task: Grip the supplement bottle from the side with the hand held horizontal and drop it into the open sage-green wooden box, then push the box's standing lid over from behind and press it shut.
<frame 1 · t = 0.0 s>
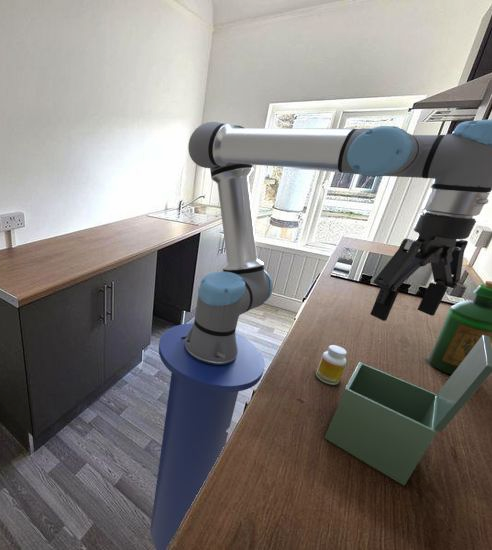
hand: (402, 315, 62), 26 cm above the worktop, tool pointing down, fingers open, 13 cm apart
box lid: (462, 381, 51), point 21 cm above the worktop, hinge at 95.0°
box: (368, 441, 63), on the worktop
bottle: (446, 368, 89), on the worktop
supplement bottle: (326, 379, 82), on the worktop
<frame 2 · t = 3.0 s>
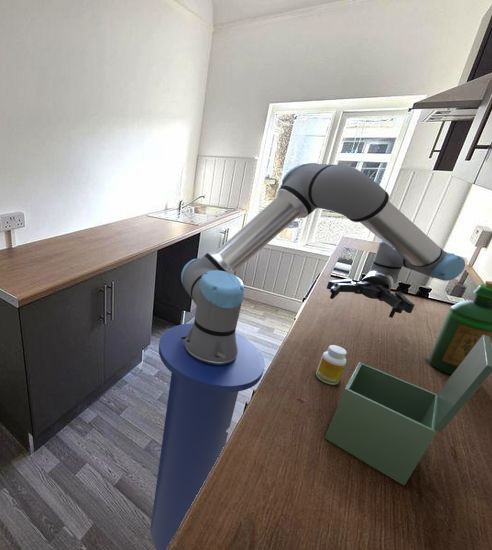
hand: (360, 303, 81), 20 cm above the worktop, tool horizontal, fingers open, 13 cm apart
nothing on the worktop moved.
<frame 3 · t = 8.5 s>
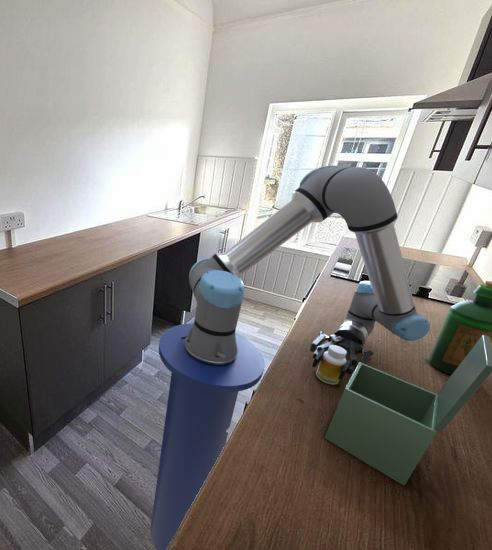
hand: (327, 368, 76), 6 cm above the worktop, tool horizontal, fingers closed on supplement bottle, 5 cm apart
supplement bottle: (326, 378, 82), on the worktop, touching gripper
everything else where it was.
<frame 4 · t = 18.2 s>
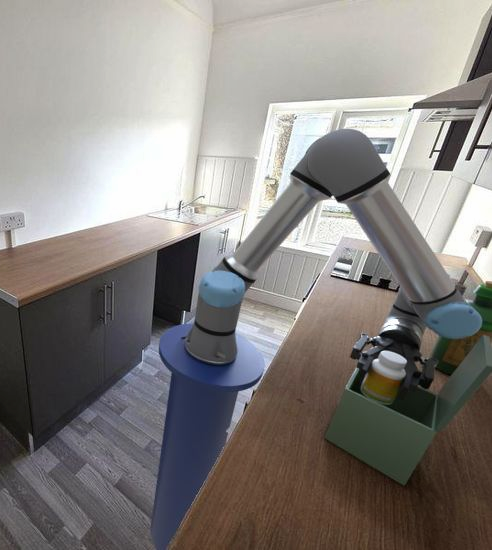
hand: (382, 384, 55), 17 cm above the worktop, tool horizontal, fingers closed on supplement bottle, 5 cm apart
supplement bottle: (375, 396, 61), point 11 cm above the worktop, touching gripper
everything else where it was.
when the fingers open (18 cm above the worktop, at t = 28.1 s): supplement bottle drops 10 cm, resting on box.
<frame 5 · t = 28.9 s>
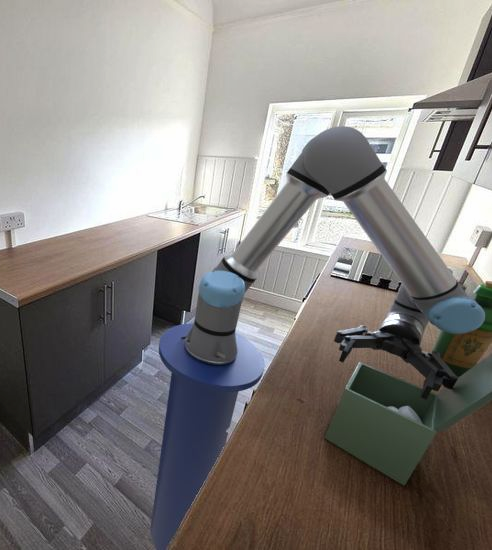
hand: (381, 373, 56), 19 cm above the worktop, tool horizontal, fingers open, 12 cm apart
box lid: (473, 387, 50), point 21 cm above the worktop, hinge at 106.2°, touching hand
supplement bottle: (363, 429, 64), point 2 cm above the worktop, touching box
everything else where it was.
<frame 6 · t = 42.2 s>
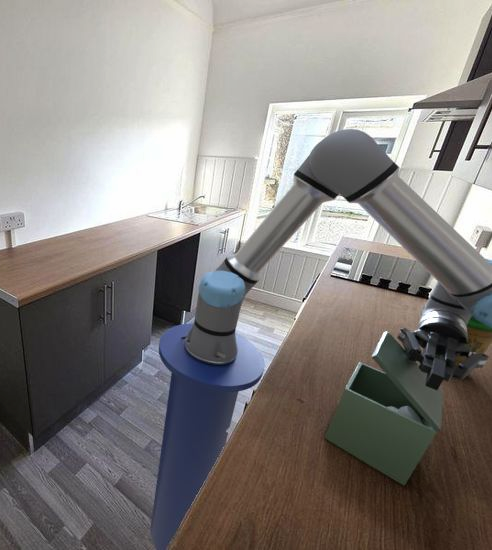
hand: (434, 381, 49), 22 cm above the worktop, tool horizontal, fingers closed
box lid: (408, 375, 56), point 18 cm above the worktop, hinge at 37.3°, touching hand
everything else where it was.
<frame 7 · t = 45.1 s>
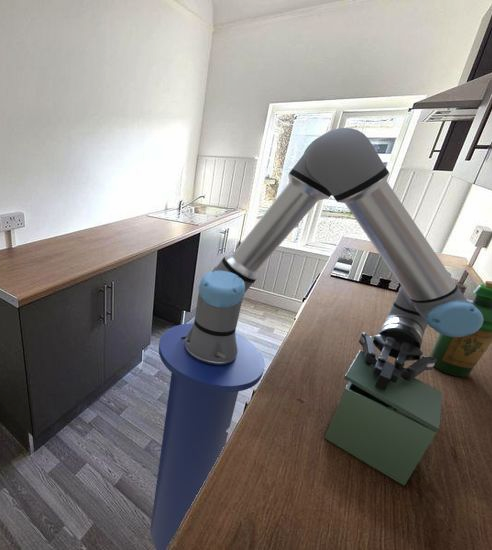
hand: (382, 383, 55), 18 cm above the worktop, tool horizontal, fingers closed
box lid: (392, 385, 58), point 15 cm above the worktop, hinge at 7.8°, touching hand
everything else where it was.
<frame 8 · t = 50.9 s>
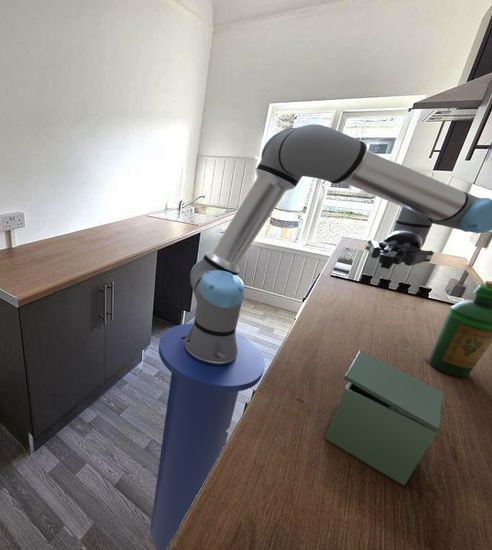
hand: (387, 262, 64), 36 cm above the worktop, tool horizontal, fingers closed
box lid: (392, 385, 58), point 15 cm above the worktop, hinge at 7.7°
everything else where it was.
at the end: supplement bottle inside the target area in the box (1.5 cm from its centre), point 2.1 cm above the box's base; box lid at +8° (first picture: +95°) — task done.
